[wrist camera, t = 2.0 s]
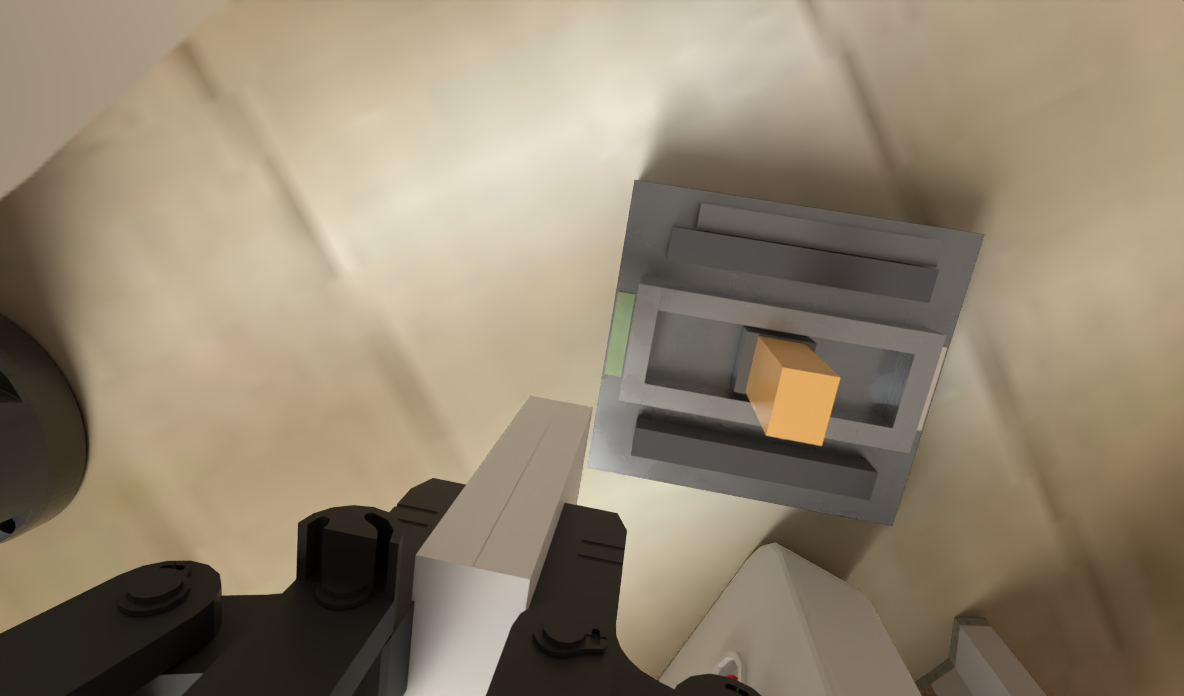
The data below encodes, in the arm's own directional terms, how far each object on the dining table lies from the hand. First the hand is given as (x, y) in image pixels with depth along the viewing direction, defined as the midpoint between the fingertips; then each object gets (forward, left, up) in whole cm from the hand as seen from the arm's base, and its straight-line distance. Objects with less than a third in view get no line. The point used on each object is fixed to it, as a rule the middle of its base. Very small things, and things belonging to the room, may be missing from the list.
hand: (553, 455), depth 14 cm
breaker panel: (+8, 0, -17) cm, 19 cm away
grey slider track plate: (+8, +1, -14) cm, 16 cm away
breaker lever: (+8, 0, -14) cm, 16 cm away
